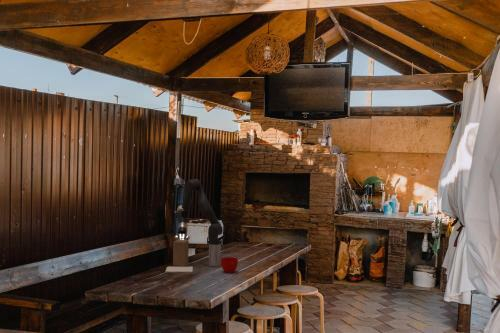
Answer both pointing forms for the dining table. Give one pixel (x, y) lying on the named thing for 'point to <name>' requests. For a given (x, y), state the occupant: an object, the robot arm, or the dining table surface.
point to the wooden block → (180, 253)
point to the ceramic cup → (229, 264)
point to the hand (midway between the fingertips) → (181, 246)
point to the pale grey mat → (179, 269)
